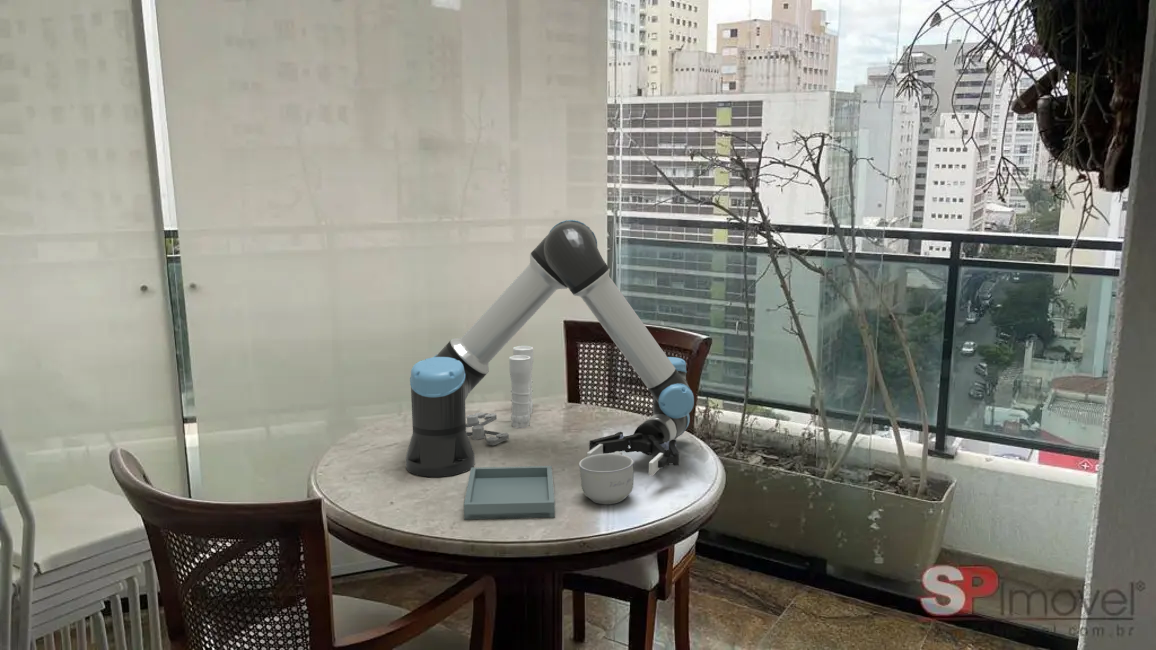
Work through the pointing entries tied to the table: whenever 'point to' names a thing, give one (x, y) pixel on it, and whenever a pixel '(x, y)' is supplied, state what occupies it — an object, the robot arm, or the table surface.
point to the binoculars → (521, 385)
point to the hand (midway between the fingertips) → (619, 464)
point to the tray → (510, 493)
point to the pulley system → (479, 430)
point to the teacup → (607, 477)
